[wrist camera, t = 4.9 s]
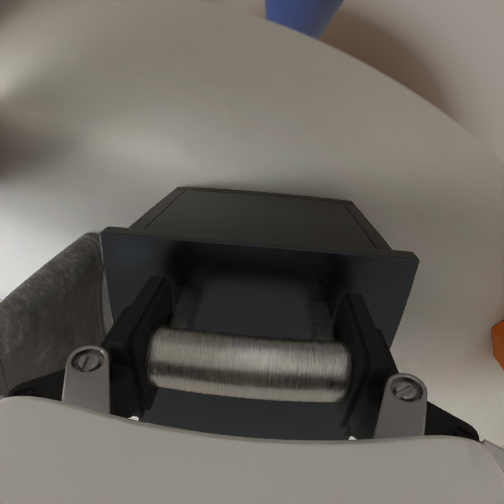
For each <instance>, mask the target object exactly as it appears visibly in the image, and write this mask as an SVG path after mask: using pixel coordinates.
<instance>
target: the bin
mask: <svg viewBox="0 0 504 504" xmlns="http://www.w3.org/2000/svg"><path fill="white" fill-rule="evenodd" d="M129 228H135V229H149V230H163V231H177V232H190V233H203V234H216V235H228V236H241V237H253V238H265V239H277V240H289V241H300V242H311V243H323V244H334V245H345V246H355V247H366V248H377V249H387V250H392V249H391V247H390V246H389V245H388V244H387V242H386V241H385V240H384V239H383V237H382V236H381V235H380V234H379V233H378V231H377V230H376V229H375V228H374V227H373V225H372V224H371V223H370V222H369V221H368V220H367V218H366V217H365V216H364V215H363V214H362V213H361V211H360V210H359V209H358V208H357V207H356V206H355V205H354V203H353V202H352V201H347V200H338V199H329V198H320V197H310V196H300V195H290V194H278V193H267V192H254V191H241V190H226V189H210V188H192V187H177V188H176V189H175V190H173V191H172V192H171V193H170V194H168V195H167V196H166V197H165V198H163V199H162V200H161V201H160V202H159V203H157V204H156V205H155V206H154V207H153V208H151V209H150V210H149V211H148V212H146V213H145V214H144V215H143V216H142V217H141V218H139V219H138V220H137V221H136V222H135V223H133V224H132V225H131V226H130V227H129Z"/></svg>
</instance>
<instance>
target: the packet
mask: <svg viewBox="0 0 504 504" xmlns="http://www.w3.org/2000/svg"><path fill="white" fill-rule="evenodd" d="M492 339H493V354H494V357H495V359H496V360H497V362H498V363H499V364H500V366H501V367H502V369H503V370H504V320H503V321H502V322H500V323H499V324H497V325H496V326H494V327H493V328H492Z"/></svg>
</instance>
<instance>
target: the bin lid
mask: <svg viewBox="0 0 504 504" xmlns="http://www.w3.org/2000/svg"><path fill="white" fill-rule="evenodd" d="M100 240H101V249H102V256H103V263H104V270H105V277H106V283H107V289H108V295H109V301H110V306H111V311H112V317H113V322H114V323H115V322H116V320H117V319H118V317H119V316H120V314H121V313H122V311H123V310H124V309H125V308H126V307H130V306H131V304H132V303H133V301H134V300H135V298H136V297H137V295H138V294H139V292H140V291H141V289H142V288H143V286H144V285H145V283H146V282H147V281H148V279H149V278H150V276H157V277H165V278H166V280H167V281H168V282H171V287H172V302H173V316H172V318H171V320H170V323H169V325H168V326H166V325H159V324H158V325H155V326H154V327H153V329H152V330H151V332H150V335H149V337H148V341H147V345H146V350H145V360H144V368H145V376H146V380H147V382H148V383H149V384H150V385H152V386H158V387H159V388H158V391H157V394H156V396H155V399H154V402H153V405H152V407H151V409H150V410H146V411H145V413H144V416H143V418H141V417H138V419H139V421H141V422H146V423H151V424H156V425H161V426H167V427H172V428H178V429H184V430H191V431H197V432H204V433H212V434H220V435H229V436H238V437H249V438H262V439H280V440H319V441H323V440H349V438H350V436H343V434H342V428H338V427H337V424H336V418H335V411H334V404H333V402H343V401H344V400H345V399H346V397H347V395H348V392H349V389H350V385H351V379H352V353H351V348H350V345H349V343H348V342H347V341H339V340H335V335H334V331H333V326H334V322H335V318H336V314H337V309H338V305H339V301H340V298H341V297H345V295H346V294H347V293H354V294H362V296H363V298H364V301H365V303H366V305H367V308H368V310H369V312H370V315H371V317H372V320H373V322H374V325H375V327H376V328H379V329H381V331H382V333H383V335H384V338H385V340H386V342H387V345H388V347H389V350H390V347H391V345H392V342H393V340H394V337H395V334H396V331H397V329H398V326H399V323H400V320H401V318H402V315H403V312H404V309H405V306H406V303H407V300H408V297H409V294H410V290H411V287H412V284H413V281H414V277H415V274H416V271H417V267H418V264H419V259H418V257H417V256H416V255H415V254H414V253H413V252H408V251H397V250H387V249H377V248H366V247H355V246H345V245H334V244H323V243H311V242H300V241H289V240H277V239H265V238H253V237H241V236H228V235H216V234H203V233H190V232H177V231H163V230H149V229H135V228H121V227H107V228H105V229H104V230H103V231H102V232H100Z"/></svg>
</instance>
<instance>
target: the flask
mask: <svg viewBox="0 0 504 504" xmlns="http://www.w3.org/2000/svg"><path fill="white" fill-rule="evenodd" d="M103 271H104V263H103V256H102V249H101V240H100V236H99V235H97V234H95V233H91V232H90V233H86V234H84V235H83V236H81V237H80V238H79V239H77V240H76V241H75V242H73V243H72V244H71V245H69V246H68V247H67V248H65V249H64V250H63V251H61V252H60V253H59V254H58V255H56V256H55V257H54V258H52V259H51V260H50V261H49V262H47V263H46V264H45V265H44V266H42V267H41V268H40V269H39V270H37V271H36V272H35V273H34V274H33V275H31V276H30V277H29V278H28V279H27V280H25V281H24V282H23V283H22V284H21V285H19V286H18V287H17V288H16V289H15V290H14V291H13V292H11V293H10V294H9V295H8V296H7V297H6V298H5V299H3V300H2V301H1V302H0V395H3V396H4V397H5V398H6V397H8V394H9V392H10V391H11V389H12V388H14V387H15V386H16V385H18V384H20V383H23V382H26V381H29V380H32V379H35V378H38V377H41V376H44V375H47V374H50V373H53V372H56V371H59V370H62V369H65V368H66V363H67V359H68V356H69V355H70V354H71V353H72V352H73V351H74V350H76V349H77V348H80V347H82V346H87V345H95V346H100V345H101V343H102V342H103V340H104V339H105V337H106V333H105V328H104V322H103V312H102V279H103Z"/></svg>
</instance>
